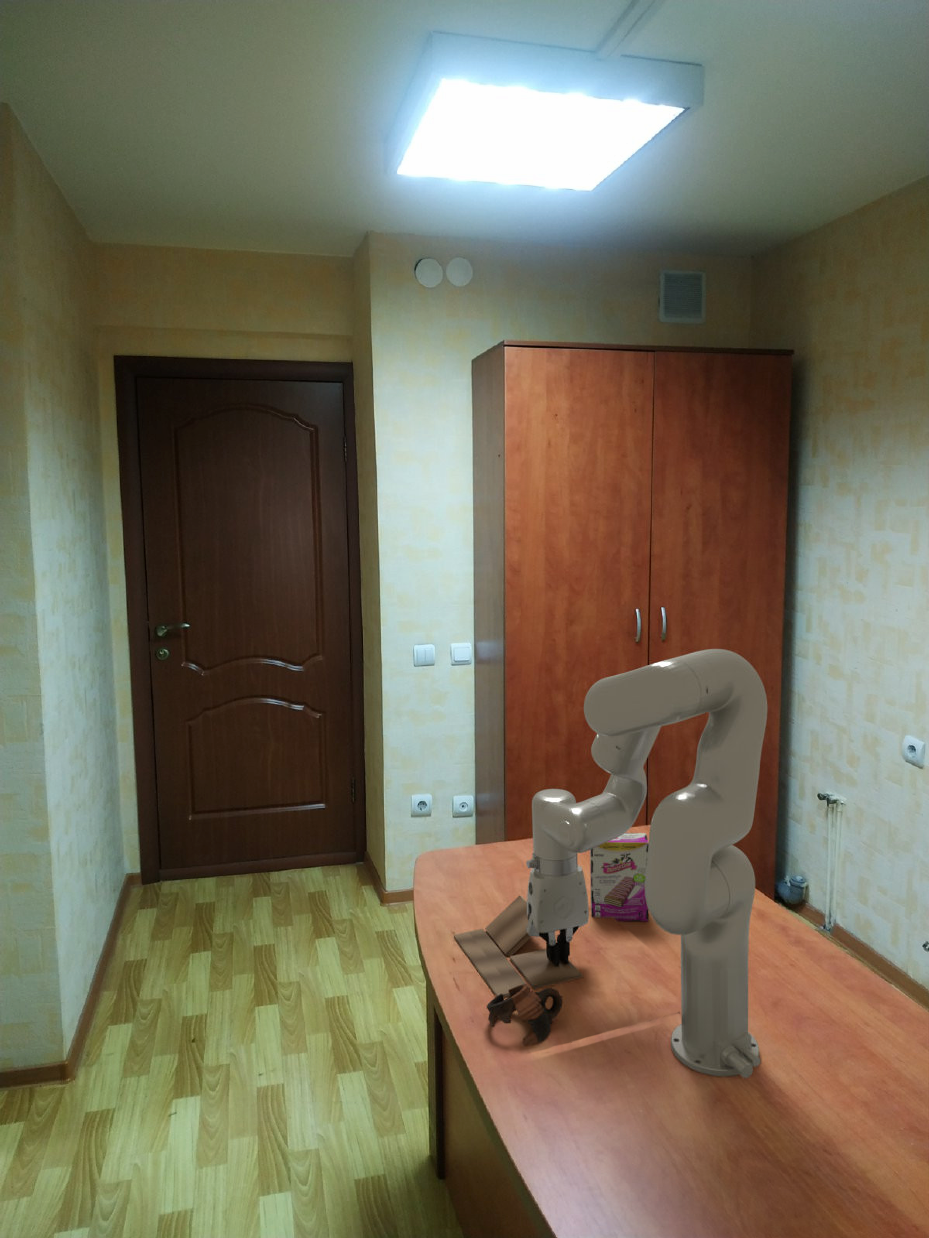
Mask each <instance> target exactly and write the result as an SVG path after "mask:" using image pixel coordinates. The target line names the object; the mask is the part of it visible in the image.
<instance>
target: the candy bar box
mask: <svg viewBox="0 0 929 1238" xmlns="http://www.w3.org/2000/svg"><path fill="white" fill-rule="evenodd" d="M648 844H649V838H648V835H647V833H645V832H626V833H625V834H623V835H621V836H619V837H617V838H615V839H613V840H610V841H608V842H606V843H604V844H601V845H600V846H597V847H595V848H593V849H591V850H589V859H590V860H589V862H590V863H589V865H590V869H589V870H590V871H589V874H590V875H589V876H590V914H591V917H592V918H613V919H614V920H616V921H617V922H649V921H650V920H649V917H650V915H649V914H650V912H649V910H648V907H647V903H646V898H645V876H646V865H647V854H648Z"/></svg>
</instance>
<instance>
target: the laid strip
mask: <svg viewBox="0 0 929 1238" xmlns="http://www.w3.org/2000/svg"><path fill="white" fill-rule="evenodd" d="M453 939H454V940H455V941H456V942H457V944H458V946H459V947H460V948H461V950H462V951H463V953H464V954H465V956H467V958H468V960H469V961H470V962H471V964H472V965H473V966H474V967H475V969H476V970H477V972H478V973H479V975H480V976H481V977H482V979H483V981H484V982H485V983H486V985H487V986H488V988H489V989H490V990H491V992H492V993H493V994H494V995H495V997H497V996H498V995H500V994H503V998H506V997H507V998H508V997H510V994H509V991H508V990H510V989H512V988H514V987H516V986H519V985H523V984H527V985H528V982H527V981H526V980H525V979H524V977H523V976H522V975H521V974H520V972H519V971H517V970H516V967H515V966H514V965H512V962H511V961H509V959H508V958H507V956H506V955H505V954H504V952H503V951H502V950H501V949H500V947H499V946H497V944H496V942H495V941H494V940H493V939H492V937H491V936H490V935H489V934H488V932H487V931H486V930H484V928H478V929H475V930H471V931H465V932H461V933H456V934H454V935H453ZM528 987H529V989H530V990H531V986H530V985H528Z"/></svg>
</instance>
